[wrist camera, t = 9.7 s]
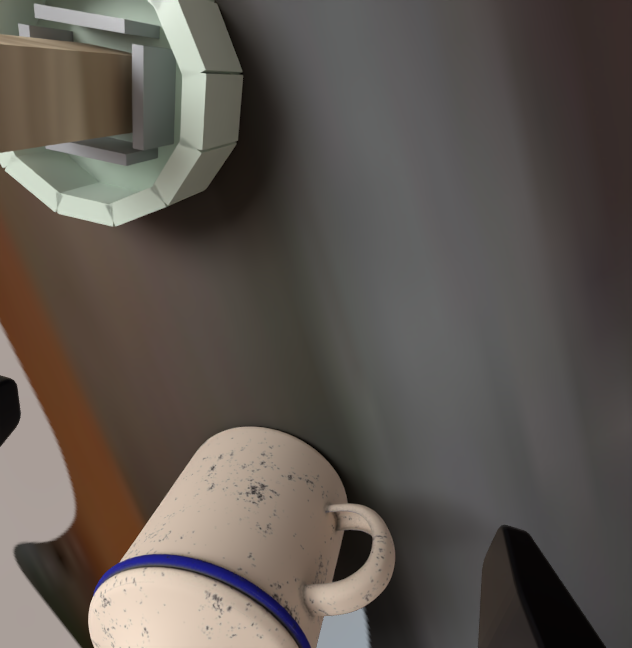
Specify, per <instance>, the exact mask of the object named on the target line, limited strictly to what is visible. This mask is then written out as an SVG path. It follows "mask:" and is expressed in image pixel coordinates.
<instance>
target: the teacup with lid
mask: <svg viewBox="0 0 632 648" xmlns="http://www.w3.org/2000/svg"><path fill="white" fill-rule="evenodd" d="M344 530H359V531H363V532H366V533H368V534H370V535H371V536H372V537H373V544H372V550H371V553H370V556H369V558H368V560H367V561H366V563H365V564H364V565H363V566H362V567H361V568H360V569H359V570H358V571H357V572H355V573H354V574H352V575H351V576H349V577H347V578H345V579H343V580H340V581H336V582H332V580H333V576H334V571H335V567H336V563H337V559H338V555H339V551H340V546H341V542H342V538H343V534H344ZM394 565H395V548H394V543H393V539H392V537H391V534H390V532H389V530H388V528H387V526H386V524H385V522H384V521H383V519H382V518H381V517H380V516H379V515H378V514H377V513H376V512H375V511H374V510H372V509H371V508H369V507H366V506H364V505H360V504H349V503H348V501H347V496H346V492H345V489H344V486H343V484H342V482H341V480H340V478H339V476H338V474H337V473H336V471H335V470H334V468H333V467H332V466H331V465H330V463H329V462H328V461H327V460H326V459H325V458H324V457H323V456H322V455H321V454H320V453H319V452H318V451H316V450H315V449H314V448H312V447H311V446H310V445H308V444H307V443H305V442H303V441H302V440H300V439H298V438H296V437H294V436H292V435H289V434H287V433H284V432H281V431H278V430H274V429H270V428H264V427H237V428H232V429H229V430H225V431H223V432H220V433H218V434H216V435H214V436H213V437H211V438H210V439H208V440H207V441H206V442H205V443H204V444H203V445H202V446H201V447H200V448H199V449H198V450H197V452H196V453H195V455H194V456H193V457H192V459H191V460H190V462H189V463H188V465H187V466H186V468H185V469H184V470H183V472H182V473H181V475H180V476H179V478H178V479H177V481H176V482H175V483H174V485H173V486H172V488H171V489H170V491H169V492H168V494H167V495H166V496H165V498H164V499H163V501H162V502H161V504H160V505H159V506H158V508H157V509H156V511H155V512H154V514H153V515H152V517H151V518H150V519H149V521H148V522H147V524H146V525H145V527H144V528H143V530H142V531H141V532H140V534H139V535H138V537H137V538H136V540H135V541H134V543H133V544H132V545H131V547H130V548H129V550H128V551H127V553H126V554H125V556H124V557H123V558H122V560H121V561H120V563H118V564H116V565H115V566H113V567H112V568H110V569H109V570H108V571H107V572H106V573H105V574H104V575H103V576H102V578H101V579H100V580H99V582H98V584H97V586H96V588H95V591H94V594H93V598H92V601H91V604H90V609H89V632H90V636H91V640H92V643H93V645H94V648H316V646H317V642H318V638H319V633H320V630H321V625H322V621H323V617H324V616H332V615H341V614H346V613H350V612H353V611H356V610H358V609H360V608H362V607H364V606H366V605H367V604H369V603H370V602H372V601H373V600H374V599H375V598H376V597H378V596H379V595H380V594H381V593H382V591H383V590H384V589H385V588H386V586H387V585H388V583H389V581H390V579H391V576H392V574H393V570H394Z"/></svg>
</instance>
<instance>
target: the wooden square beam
mask: <svg viewBox="0 0 632 648" xmlns="http://www.w3.org/2000/svg"><path fill="white" fill-rule="evenodd" d="M126 133H133V119H132V53H129V52H125V51H120V50H116V49H111V48H106V47H102V46H97V45H93V44H87V43H78V42H69V41H59V40H50V39H41V38H32V37H23V36H14V35H5V34H0V153H3V152H10V151H16V150H23V149H29V148H36V147H42V146H49V145H55V144H62V143H68V142H75V141H81V140H87V139H94V138H100V137H107V136H113V135H120V134H126Z"/></svg>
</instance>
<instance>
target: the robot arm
mask: <svg viewBox="0 0 632 648" xmlns="http://www.w3.org/2000/svg"><path fill="white" fill-rule="evenodd" d="M20 415H21V412H20V404H19V396H18V389H17V384H16V383H15V381H14V380H12V379H11V378H7V377H4V376H0V446H1V445H2V444H3V443H4V442H5V440H6V439H7V438H8V437H9V435H10V434H11V433H12V432H13V431H14V429H15V428H16V426H17V425H18V423H19V420H20ZM478 648H606V646H605V645H604V643H603V642H602V641H601V639H600V638H599V636H598V635H597V633H596V632H595V630H594V629H593V627H592V626H591V624H590V623H589V621H588V620H587V618H586V617H585V615H584V614H583V612H582V611H581V610H580V608H579V607H578V605H577V604H576V602H575V601H574V599H573V598H572V596H571V595H570V593H569V592H568V590H567V589H566V587H565V586H564V584H563V583H562V581H561V580H560V579H559V577H558V576H557V574H556V573H555V571H554V570H553V568H552V567H551V565H550V564H549V562H548V561H547V559H546V558H545V556H544V555H543V553H542V552H541V550H540V549H539V547H538V546H537V545H536V543H535V542H534V540H533V539H532V537H531V536H530V534H529V533H527V532H526V531H524V530H521V529H518V528H514V527H511V526H508V525H502V526H500V527H499V529H498V530H497V532H496V534H495V537H494V539H493V541H492V543H491V545H490V548H489V550H488V552H487V554H486V556H485V559H484V563H483V569H482V583H481V601H480V620H479V639H478Z"/></svg>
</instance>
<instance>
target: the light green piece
mask: <svg viewBox="0 0 632 648" xmlns="http://www.w3.org/2000/svg"><path fill="white" fill-rule="evenodd" d="M214 2H215V0H0V34H5V35H14V36H23V37H32V38H41V39H50V40H59V41H69V42H78V43H87V44H93V45H97V46H102V47H106V48H111V49H116V50H120V51H125V52H129V53H132V119H133V133H126V134H120V135H113V136H107V137H100V138H94V139H87V140H81V141H75V142H68V143H62V144H55V145H49V146H42V147H36V148H29V149H23V150H16V151H10V152H3V153H0V164H1V166H2V167H3V168H6V169H5V171H6V172H7V173H9V174H10V175H11V176H12V177H13V178H15V179H16V180H17V181H18V182H19V183H21V184H22V185H23V186H24V187H25V188H27V189H28V190H29V191H30V192H31V193H33V194H34V195H35V196H36V197H37V198H39V199H40V200H41V201H42V202H43V203H45V204H46V205H47V206H48V207H49V208H51V209H52V210H53V211H54V212H58V214H62V215H66V216H70V217H75V218H79V219H83V220H87V221H92V222H96V223H100V224H104V225H108V226H118V225H121V224H123V223H126V222H129V221H131V220H134V219H136V218H139V217H142V216H144V215H147V214H149V213H152V212H155V211H157V210H160V209H162V208H165V207H167V206H170V205H172V204H174V203H177V202H179V201H181V200H184V199H186V198H188V197H191V196H193V195H195V194H197V193H200V192H202V191H204V190H205V189H207V187H208V186H209V184H210V183H211V181H212V180H213V178H214V177H215V175H216V174H217V173H218V171H219V170H220V168H221V167H222V165H223V164H224V162H225V161H226V159H227V158H228V156H229V155H230V153H231V152H232V150H233V149H234V147H235V146H236V144H237V143H236V142H235V141H238V134H239V122H240V110H241V98H242V85H243V75H239V74H240V73H242V72H243V71H242V68H241V66H240V63H239V60H238V58H237V55H236V52H235V50H234V47H233V45H232V42H231V39H230V37H229V34H228V31H227V29H226V26H225V23H224V21H223V18H222V15H221V13H220V10H219V8H218V5H217V3H214Z"/></svg>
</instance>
